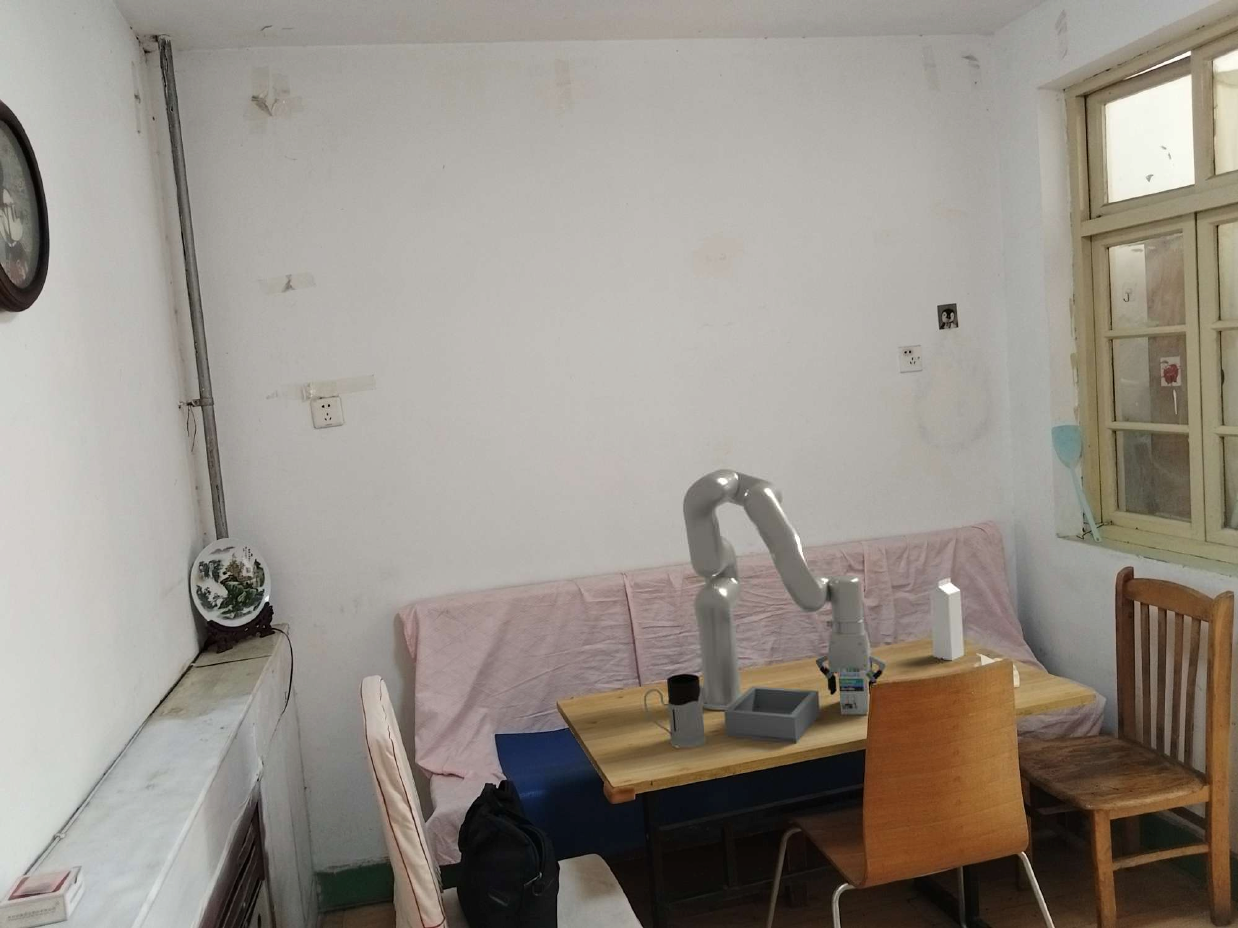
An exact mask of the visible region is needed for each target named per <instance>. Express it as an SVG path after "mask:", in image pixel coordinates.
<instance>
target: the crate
mask: <svg viewBox="0 0 1238 928" xmlns="http://www.w3.org/2000/svg"><path fill="white" fill-rule="evenodd" d="M743 693H744V694H743V695H742V696H741V697H740V698H739V699H737V700H736V701H735V702H734V703H733V704H732V705H731V706H730V707H729V708H728V709H726V710H723V711H724V713H723V714H724V723H725V725H724V727H725V736H726V737H729V738H730V737H731V738H738V739H739V738H741V739H750V740H759V741H760V740H761V741H762V740H763V741H771V742H779V741H780V743H788V744H789V743H791V744H792V743H793V744H797V743H798V742H799V740H801V738H802V737H803V735H805V733H806V732H807V731H808V730H809V728H811V726H812V725H813V724H814V722H816V720H817V719H818V718H819V717H820V715H821V712H820V710H821V709H820V697H819V690H811V689H810V690H809V689H808V690H807V689H796V688H785V687H784V688H782V687H769V686H755V685H752V686H751V687H750V688H748V689H747V690H746V691H745V692H743Z"/></svg>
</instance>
